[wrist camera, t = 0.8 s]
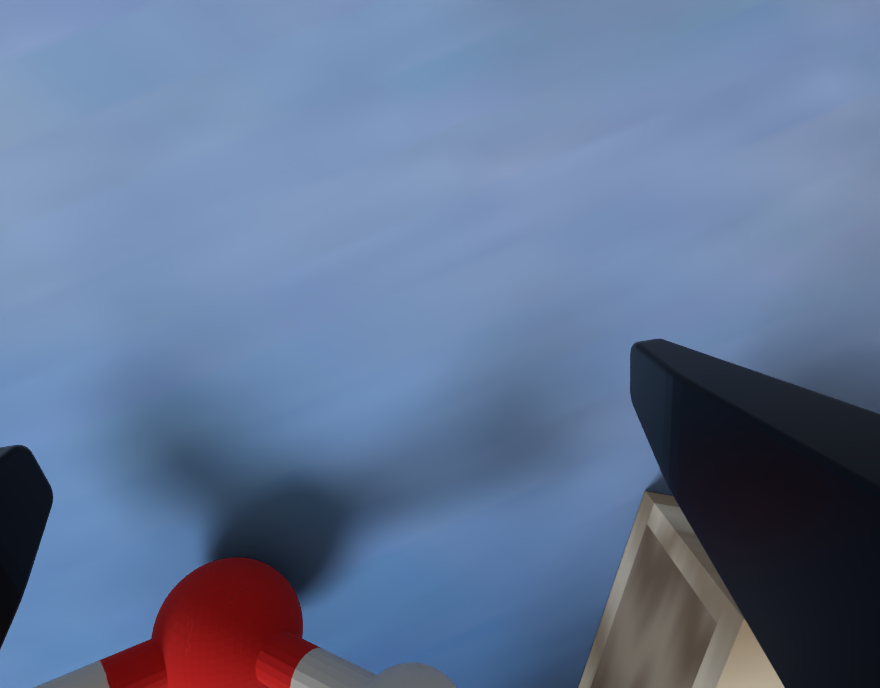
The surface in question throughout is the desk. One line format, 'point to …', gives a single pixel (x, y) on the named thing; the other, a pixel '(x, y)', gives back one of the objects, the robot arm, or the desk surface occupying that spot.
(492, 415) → the desk surface
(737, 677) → the cabinet
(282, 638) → the molecular model
